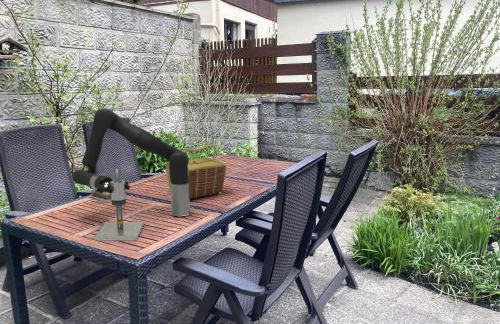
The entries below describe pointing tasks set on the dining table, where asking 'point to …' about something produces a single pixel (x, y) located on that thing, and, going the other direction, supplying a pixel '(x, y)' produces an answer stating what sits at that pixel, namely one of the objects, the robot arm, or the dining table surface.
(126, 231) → the pipe stand
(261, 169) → the dining table surface
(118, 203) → the black hex nut
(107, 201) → the packaged product
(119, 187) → the metal sleeve
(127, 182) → the robot arm
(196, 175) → the picnic basket
